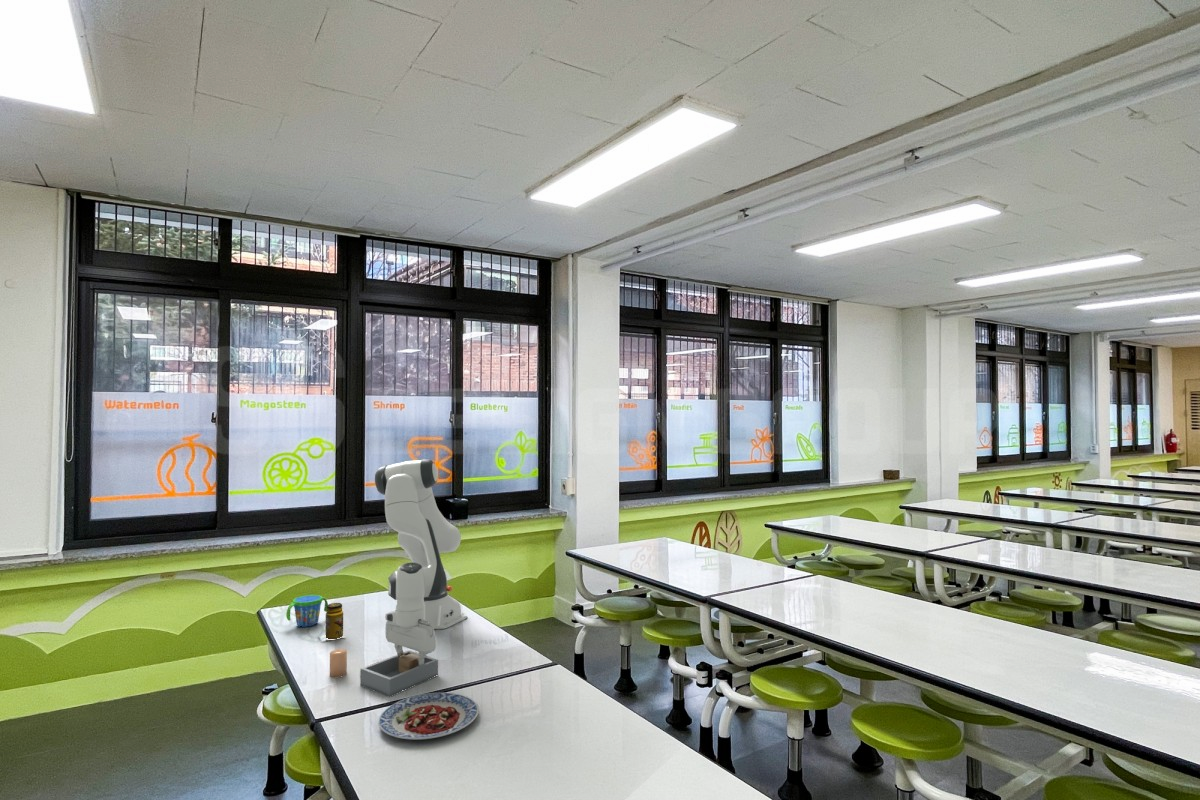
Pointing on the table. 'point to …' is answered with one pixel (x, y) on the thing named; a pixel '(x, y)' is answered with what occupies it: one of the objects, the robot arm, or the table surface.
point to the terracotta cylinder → (338, 663)
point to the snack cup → (307, 609)
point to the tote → (396, 675)
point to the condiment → (334, 621)
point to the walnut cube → (408, 662)
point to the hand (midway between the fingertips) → (410, 661)
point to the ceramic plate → (428, 716)
